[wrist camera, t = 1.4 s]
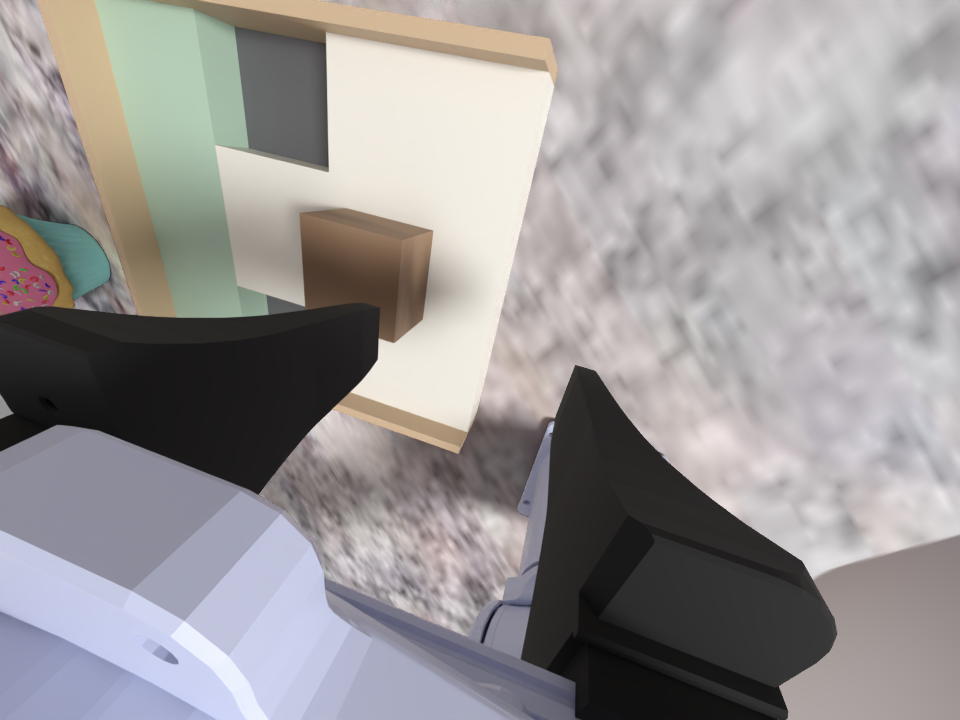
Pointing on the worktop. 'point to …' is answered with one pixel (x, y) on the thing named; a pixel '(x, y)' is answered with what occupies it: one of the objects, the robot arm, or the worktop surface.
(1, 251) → the cupcake
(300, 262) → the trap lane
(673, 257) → the worktop surface
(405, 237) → the walnut block
